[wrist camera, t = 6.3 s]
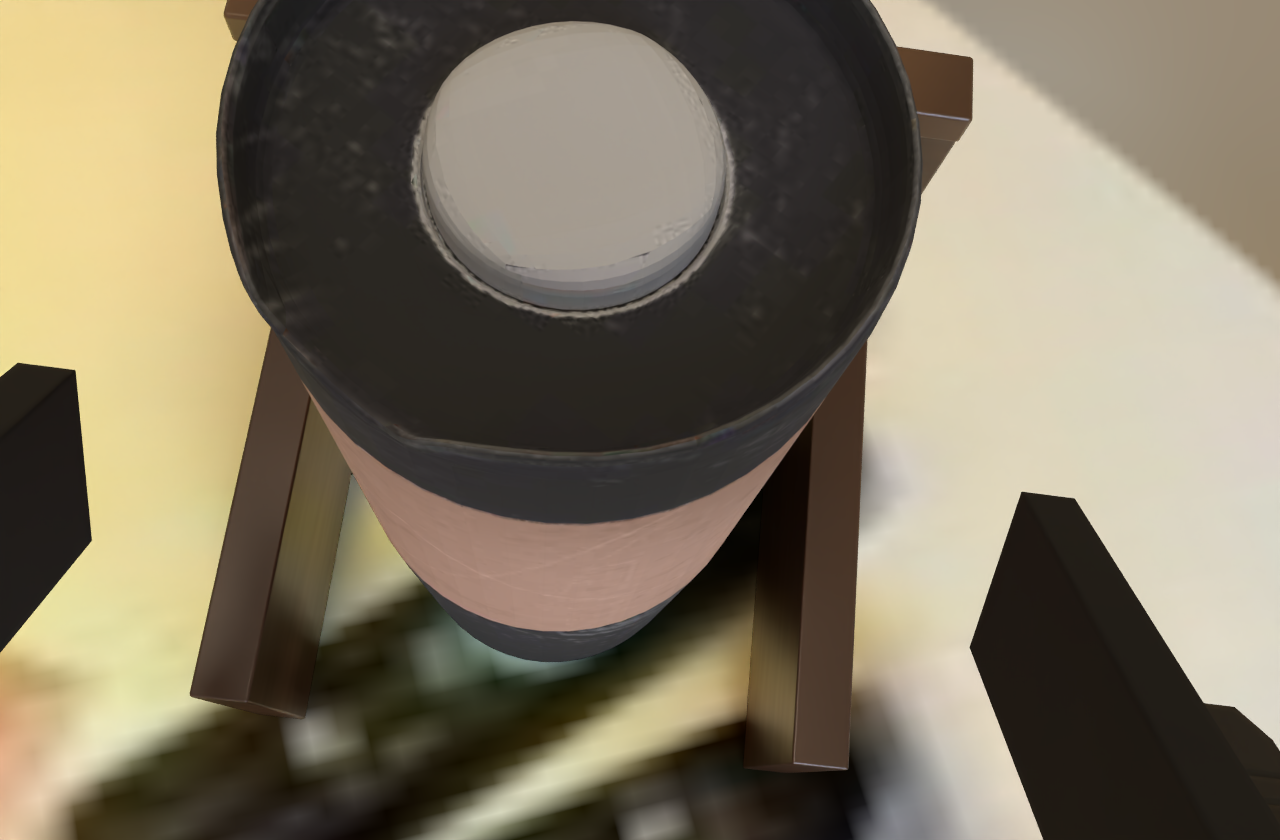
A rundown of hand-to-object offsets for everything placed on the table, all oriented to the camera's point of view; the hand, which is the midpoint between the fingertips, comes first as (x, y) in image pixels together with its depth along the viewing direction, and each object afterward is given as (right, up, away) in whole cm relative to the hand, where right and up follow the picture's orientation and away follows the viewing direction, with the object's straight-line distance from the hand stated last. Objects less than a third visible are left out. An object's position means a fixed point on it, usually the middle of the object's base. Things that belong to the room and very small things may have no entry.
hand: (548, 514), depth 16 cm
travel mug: (-1, -2, +15) cm, 15 cm away
